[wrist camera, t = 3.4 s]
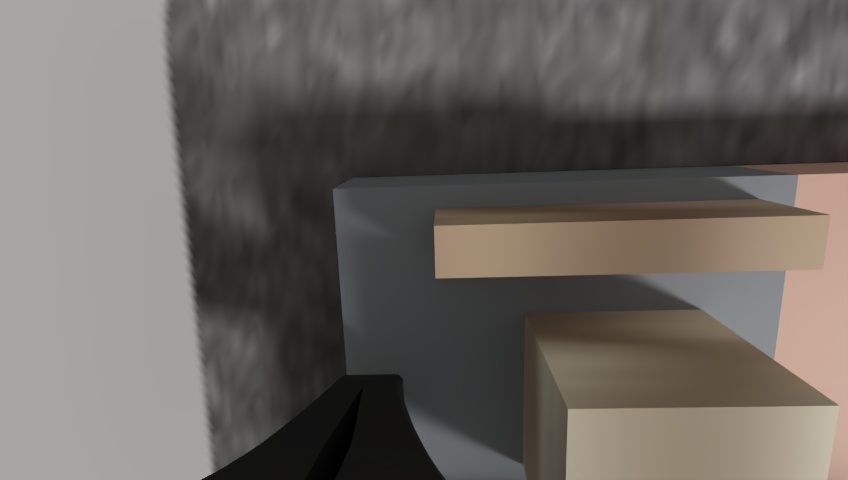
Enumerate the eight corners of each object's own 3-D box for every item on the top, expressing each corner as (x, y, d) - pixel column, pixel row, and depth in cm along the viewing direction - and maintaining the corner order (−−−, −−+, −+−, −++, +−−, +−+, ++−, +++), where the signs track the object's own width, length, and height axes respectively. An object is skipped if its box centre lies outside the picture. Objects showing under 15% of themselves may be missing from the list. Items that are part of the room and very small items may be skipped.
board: (373, 496, 16) (360, 564, 13) (352, 177, 13) (332, 188, 11) (1128, 492, 15) (1266, 565, 12) (1239, 149, 12) (1433, 155, 10)
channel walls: (445, 548, 13) (446, 623, 11) (434, 208, 11) (433, 225, 9) (719, 548, 13) (769, 625, 11) (759, 198, 11) (830, 215, 9)
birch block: (522, 464, 12) (560, 620, 8) (524, 312, 11) (568, 409, 8) (687, 463, 12) (803, 621, 8) (701, 309, 11) (839, 405, 7)
